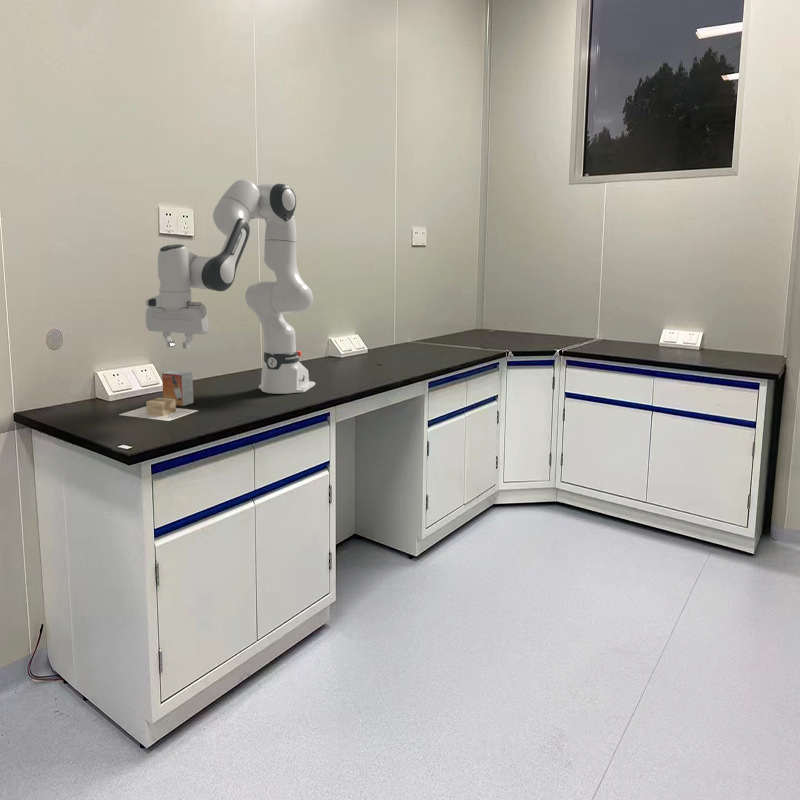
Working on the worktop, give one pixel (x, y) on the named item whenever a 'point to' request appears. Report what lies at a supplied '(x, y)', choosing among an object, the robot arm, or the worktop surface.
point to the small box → (178, 387)
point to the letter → (143, 414)
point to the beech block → (161, 406)
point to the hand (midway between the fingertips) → (178, 347)
